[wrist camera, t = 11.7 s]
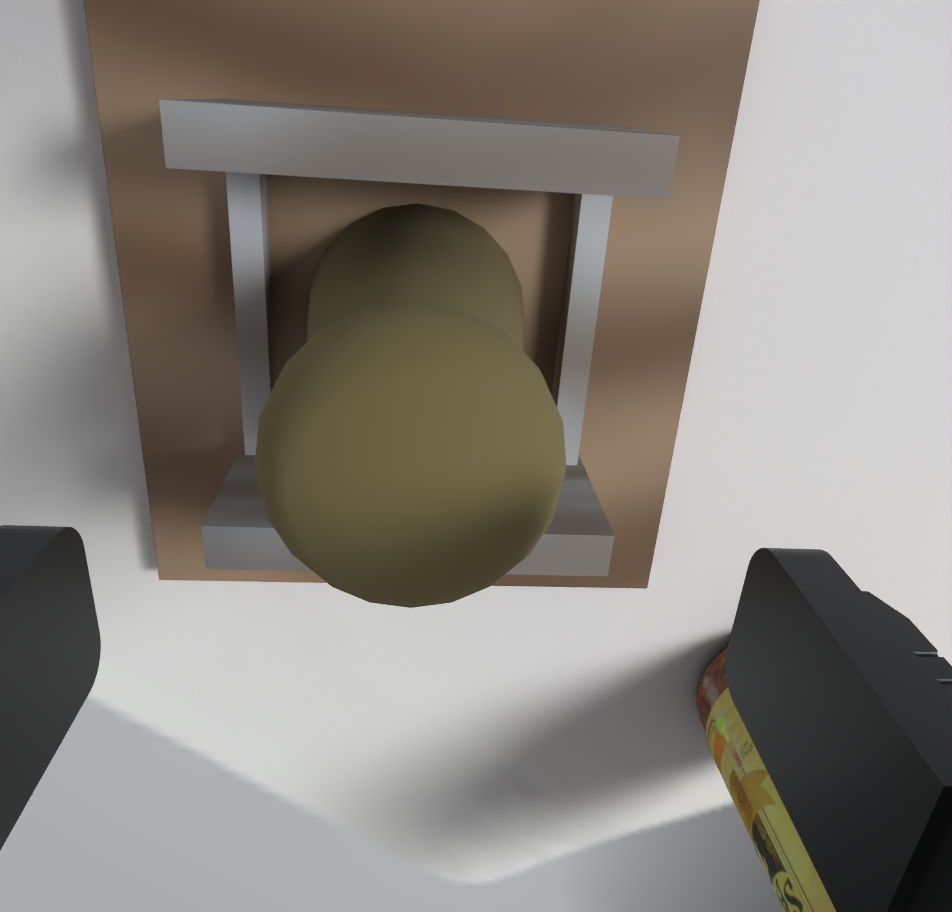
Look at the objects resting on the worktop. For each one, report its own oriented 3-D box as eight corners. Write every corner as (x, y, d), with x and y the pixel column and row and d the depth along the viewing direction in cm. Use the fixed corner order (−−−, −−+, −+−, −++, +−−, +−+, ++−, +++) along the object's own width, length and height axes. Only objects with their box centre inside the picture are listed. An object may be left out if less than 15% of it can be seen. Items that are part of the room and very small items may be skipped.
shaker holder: (88, -91, 18) (-57, -171, 12) (750, -32, 19) (879, -81, 14) (168, 562, 25) (99, 688, 20) (639, 571, 27) (694, 692, 21)
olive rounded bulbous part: (283, 378, 22) (168, 613, 12) (342, 168, 20) (261, 242, 10) (479, 441, 23) (522, 700, 13) (557, 249, 21) (679, 389, 11)
